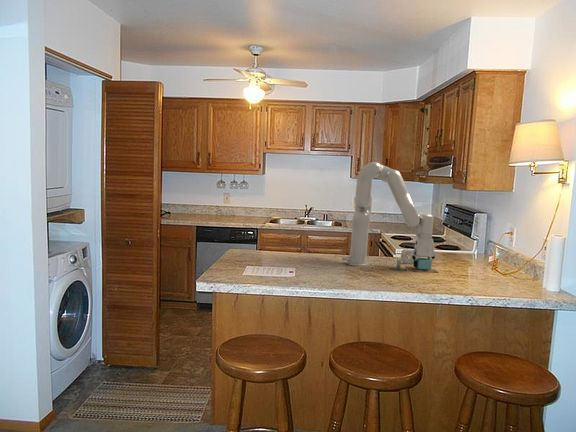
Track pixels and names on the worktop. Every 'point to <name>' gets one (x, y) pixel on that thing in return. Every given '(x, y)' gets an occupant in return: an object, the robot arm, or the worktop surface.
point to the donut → (404, 255)
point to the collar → (424, 263)
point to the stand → (398, 267)
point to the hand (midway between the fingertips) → (422, 267)
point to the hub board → (421, 269)
